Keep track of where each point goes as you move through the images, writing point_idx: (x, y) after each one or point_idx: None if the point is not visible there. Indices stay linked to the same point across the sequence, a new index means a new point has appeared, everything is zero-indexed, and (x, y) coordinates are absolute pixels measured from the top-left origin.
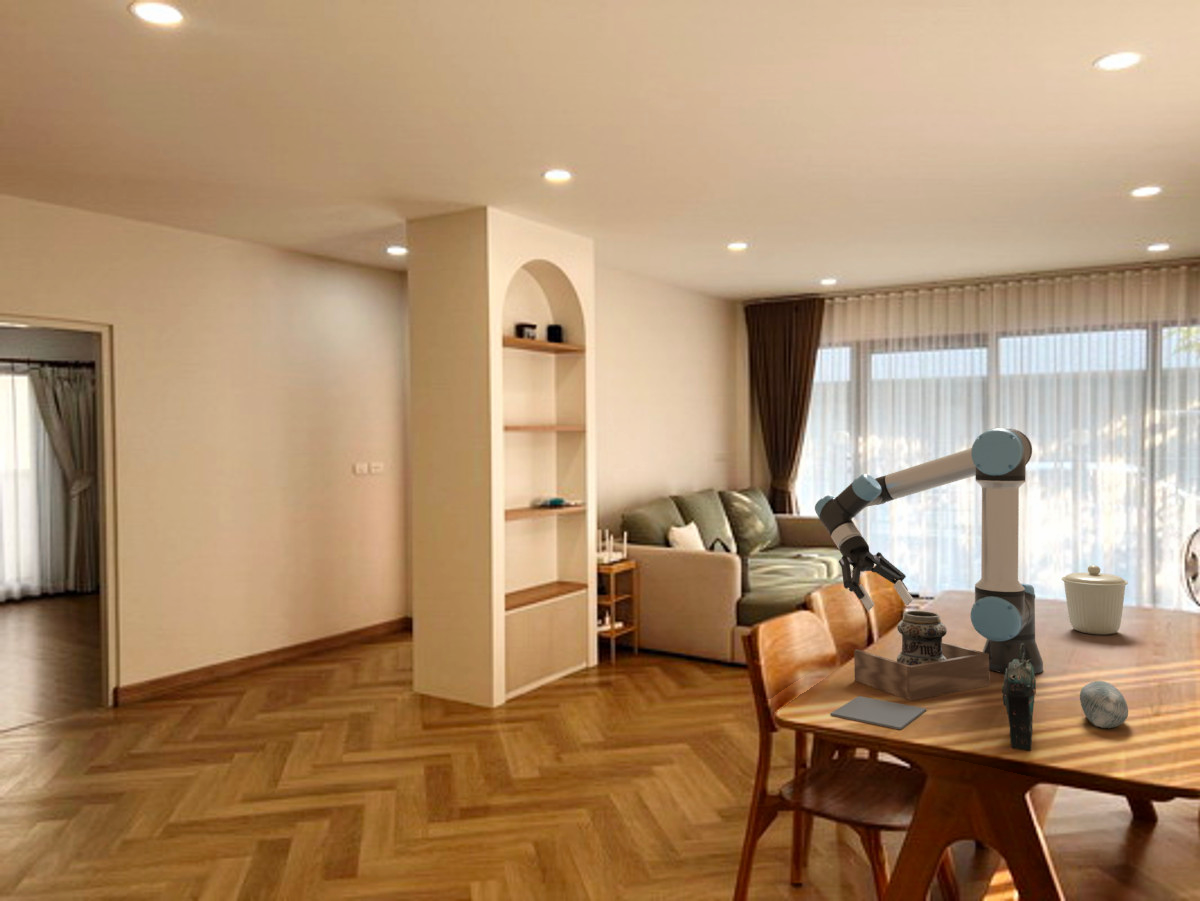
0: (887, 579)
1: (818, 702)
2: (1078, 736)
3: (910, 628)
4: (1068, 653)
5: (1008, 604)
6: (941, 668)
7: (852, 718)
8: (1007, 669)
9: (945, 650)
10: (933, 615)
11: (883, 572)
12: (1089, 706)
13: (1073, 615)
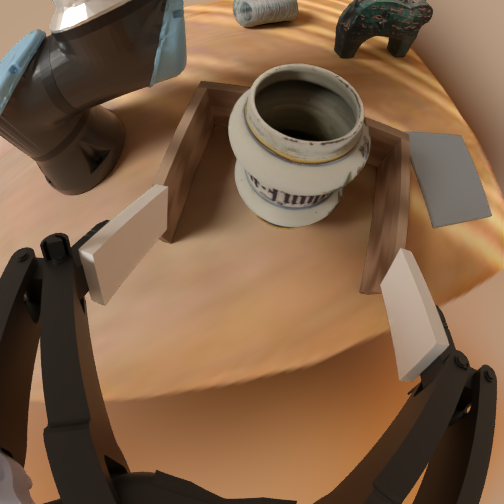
0: (91, 347)
1: (477, 259)
2: (327, 26)
3: (368, 127)
4: (5, 157)
5: None
6: None
7: (482, 188)
8: (428, 10)
9: (174, 174)
10: (256, 91)
11: (90, 376)
12: (297, 7)
13: None
